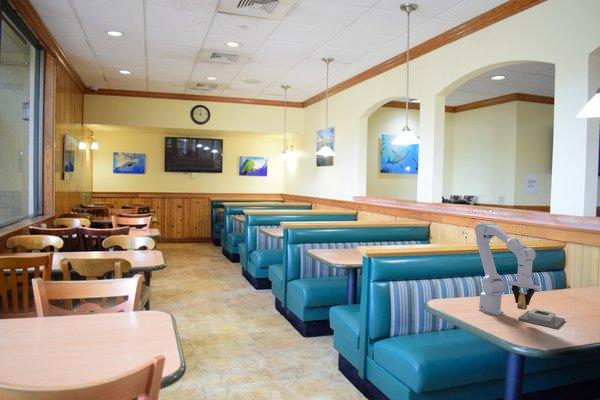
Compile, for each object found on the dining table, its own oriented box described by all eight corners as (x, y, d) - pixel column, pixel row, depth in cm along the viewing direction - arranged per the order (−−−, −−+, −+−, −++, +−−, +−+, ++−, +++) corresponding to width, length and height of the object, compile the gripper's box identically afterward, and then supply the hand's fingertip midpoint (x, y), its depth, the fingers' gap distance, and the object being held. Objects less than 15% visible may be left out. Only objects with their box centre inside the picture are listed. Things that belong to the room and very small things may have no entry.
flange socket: (518, 319, 213) (518, 312, 212) (528, 312, 225) (528, 305, 224) (556, 328, 202) (557, 321, 202) (564, 320, 214) (565, 313, 214)
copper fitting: (515, 308, 208) (517, 293, 208) (518, 306, 211) (519, 291, 211) (525, 310, 206) (526, 295, 205) (527, 308, 209) (528, 293, 208)
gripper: (504, 272, 209) (502, 301, 210) (539, 278, 200) (537, 309, 201) (509, 270, 215) (507, 298, 216) (543, 276, 205) (541, 306, 206)
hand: (522, 303), depth 208 cm, fingers closed on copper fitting, 4 cm apart
